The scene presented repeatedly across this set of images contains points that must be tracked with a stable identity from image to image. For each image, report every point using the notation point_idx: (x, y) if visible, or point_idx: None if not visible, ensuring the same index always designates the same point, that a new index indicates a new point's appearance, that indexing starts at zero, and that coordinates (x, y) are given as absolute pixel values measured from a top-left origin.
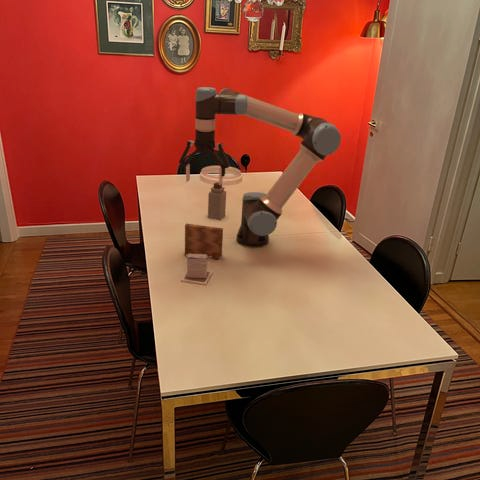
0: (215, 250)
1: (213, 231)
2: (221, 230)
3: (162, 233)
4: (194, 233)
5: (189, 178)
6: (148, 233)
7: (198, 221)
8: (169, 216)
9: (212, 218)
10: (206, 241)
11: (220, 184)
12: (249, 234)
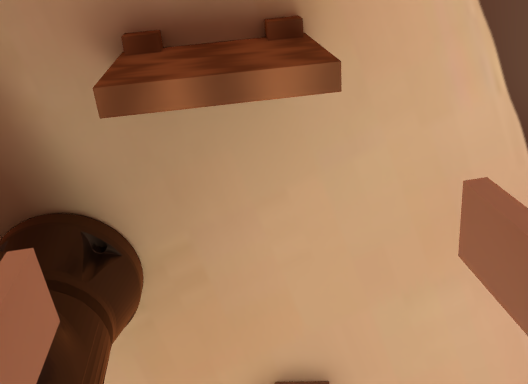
0: (146, 55)
1: (151, 78)
2: (95, 86)
3: (462, 177)
4: (271, 58)
5: (467, 258)
6: (521, 152)
7: (352, 338)
8: (478, 329)
9: (308, 382)
10: (196, 58)
11: (10, 255)
12: (43, 253)
